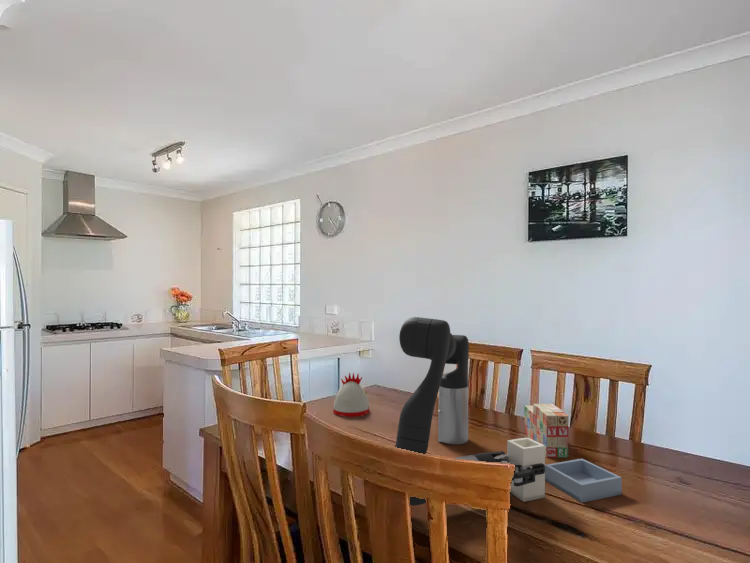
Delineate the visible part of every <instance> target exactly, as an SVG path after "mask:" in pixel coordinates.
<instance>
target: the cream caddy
mask: <svg viewBox="0 0 750 563" xmlns="http://www.w3.org/2000/svg"><path fill="white" fill-rule="evenodd" d="M506 442H507V443H506V446H507V447H506V451H507V452H506V454H507V456H508V461H509V462H514V463H520V464H521V465H523V466H525V465H534V464H540V463H542V464H544V465H546V456H545V446H544V445H542V444H540V443H538V442H536V441H534V440H532V439H530V438H529V437H528V436H527V437H521V438H514V439H513V438H512V439H508V440H506ZM524 470H527V469H522V471H524ZM516 472H517V467H515V473H516ZM510 494H512V495H513V496H515V497H516V498H517V499H519V500H520V501H522V502H523V503H525V502H530V501H535V500H540V499H544V498H546V481H545V473H544V474H540V475H535V482H532V483H528V484H525V485H522V486H514V481H512V483H511V493H510Z"/></svg>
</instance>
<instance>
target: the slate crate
mask: <svg viewBox="0 0 750 563" xmlns="http://www.w3.org/2000/svg"><path fill="white" fill-rule="evenodd" d="M622 479H623V478H622V477H621V476H619V475H618V474H615V473H613V472H611V471H609V470H607V469H605V468H604V467H601V466H600V465H599V466H598V465H596V464H595V463H592V462H591V461H588V460H586V459H584V458H577V459H571V460H565V461H561V462H554V463H549V464H545V483H548V484H550V485H551V486H553V487H555V488H556V489H557V490H560V491H561V492H563V493H564V494H566V495H568V496H570V497H571V498H573V499H575V500H576V501H577V502H579V503H586V502H591V501H597V500H602V499H605V498H606V499H607V498H611V497H616V496H621V495H623V491H622V486H623V485H622V484H623V482H622V481H623V480H622Z"/></svg>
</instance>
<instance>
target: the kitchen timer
mask: <svg viewBox="0 0 750 563" xmlns="http://www.w3.org/2000/svg"><path fill="white" fill-rule="evenodd" d="M359 375H360V374H359V373H357V374H356V378H355V373H354V372H352V376H351V373H350V372H349V373H348V377H347V375H345V376H344V378H345V379H343V378H340V380H341V383H342V384H343V385H341V386H340V388H339V390H338V391H337V392H336V393H337V394H336V396H335V398H334V402H333V410H332V411H333V414H334V413H335V414H334V415H336V414H337V415H336V416H339V415H340V416H339V417H344V416H347V417H348V418H353V417H354V418H356V416H357V417H361V416H362V415H363V416H366V415H369V413H370V403H369V399H368V396H367V395H368V393H367V392H366V391H365V389H364V387H363V386H362V385H361V384H360V383H361V382H362V379H363V376H361V377H360V376H359ZM344 380H345V381H344ZM365 414H366V415H365ZM363 416H362V417H363Z"/></svg>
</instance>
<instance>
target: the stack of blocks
mask: <svg viewBox="0 0 750 563" xmlns="http://www.w3.org/2000/svg"><path fill="white" fill-rule="evenodd" d="M523 406H524V408H523V410H524V411H523V413H524V433H525V434H526V436H527V437H528V438H530V439H532V440H534V441H536V442H538V443H540V444H542V445H544V446H545V458H560V459H561V458H565V459H566V458H569V415H568V414H567V413H565V411H563V409H561V408H559V407H558V406H556V405H555V404H553V403H533V404H532V405H523Z"/></svg>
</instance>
